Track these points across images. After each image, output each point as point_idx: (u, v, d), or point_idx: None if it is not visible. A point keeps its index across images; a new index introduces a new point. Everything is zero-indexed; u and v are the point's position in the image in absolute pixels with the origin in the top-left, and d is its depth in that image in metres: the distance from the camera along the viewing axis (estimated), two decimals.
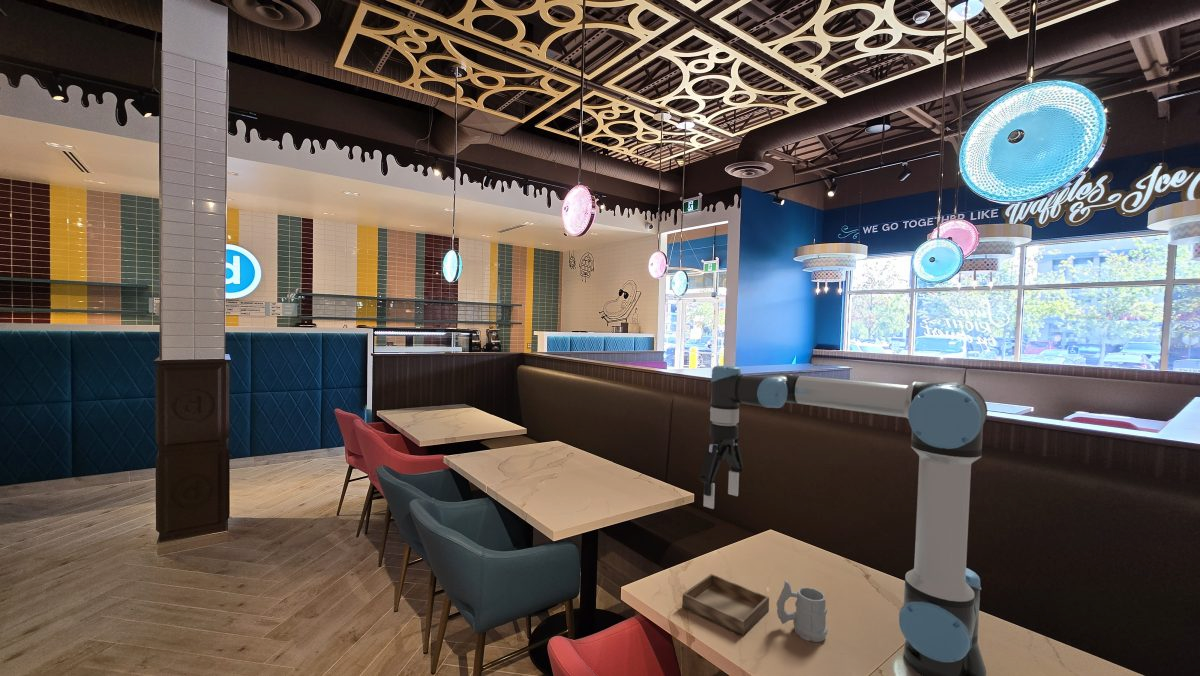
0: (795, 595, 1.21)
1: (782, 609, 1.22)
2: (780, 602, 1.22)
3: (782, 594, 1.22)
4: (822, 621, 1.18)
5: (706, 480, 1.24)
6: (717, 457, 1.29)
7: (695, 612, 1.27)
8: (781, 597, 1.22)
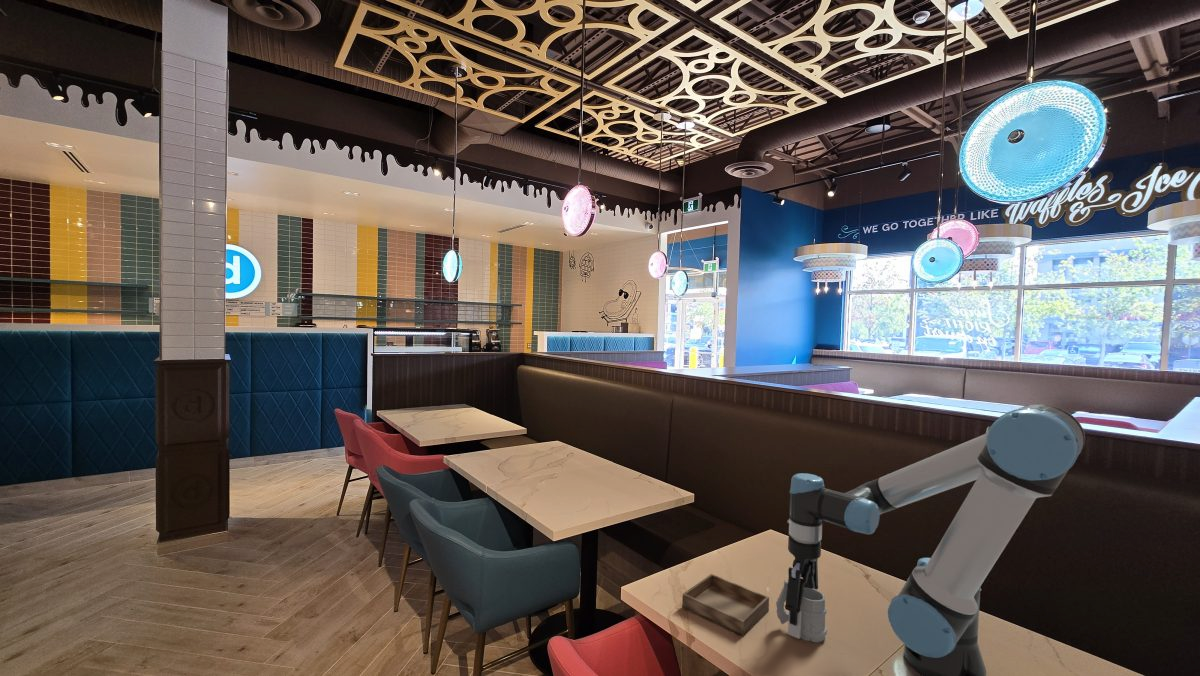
0: None
1: (781, 609, 1.22)
2: (779, 602, 1.22)
3: (781, 594, 1.22)
4: (821, 621, 1.18)
5: (794, 610, 1.15)
6: (800, 580, 1.19)
7: (695, 612, 1.27)
8: (780, 597, 1.22)
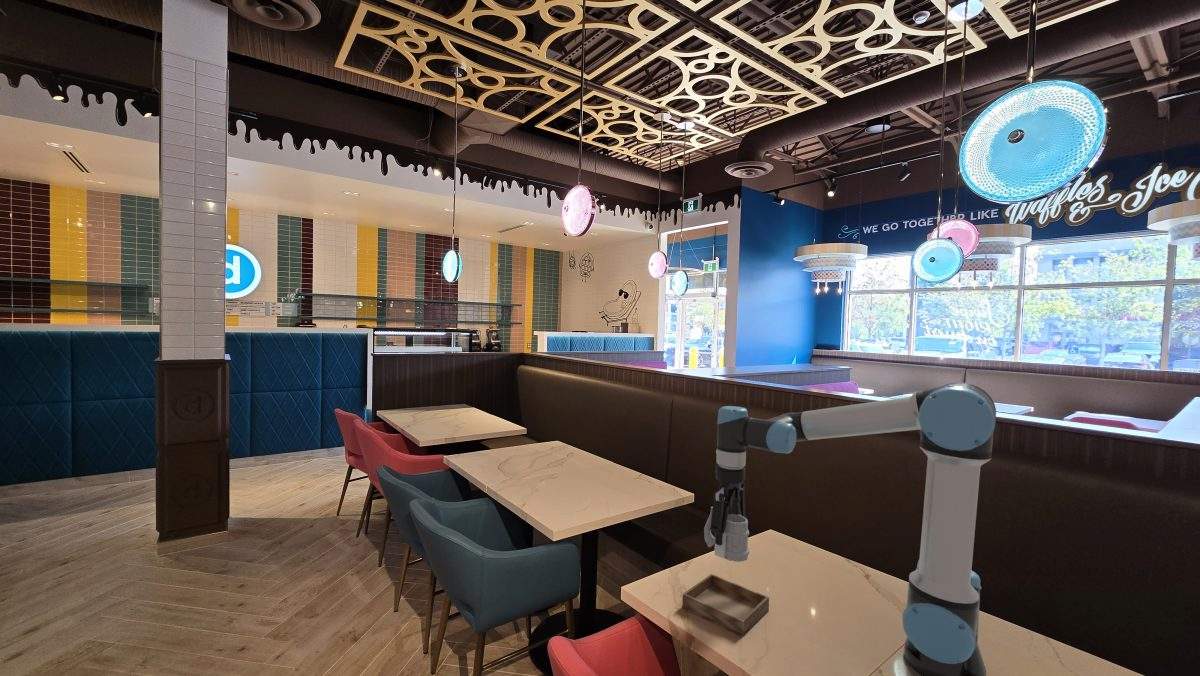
0: None
1: (708, 533, 1.30)
2: (706, 527, 1.30)
3: (708, 519, 1.30)
4: (743, 542, 1.25)
5: (717, 530, 1.23)
6: (725, 504, 1.27)
7: (695, 612, 1.27)
8: (707, 522, 1.30)
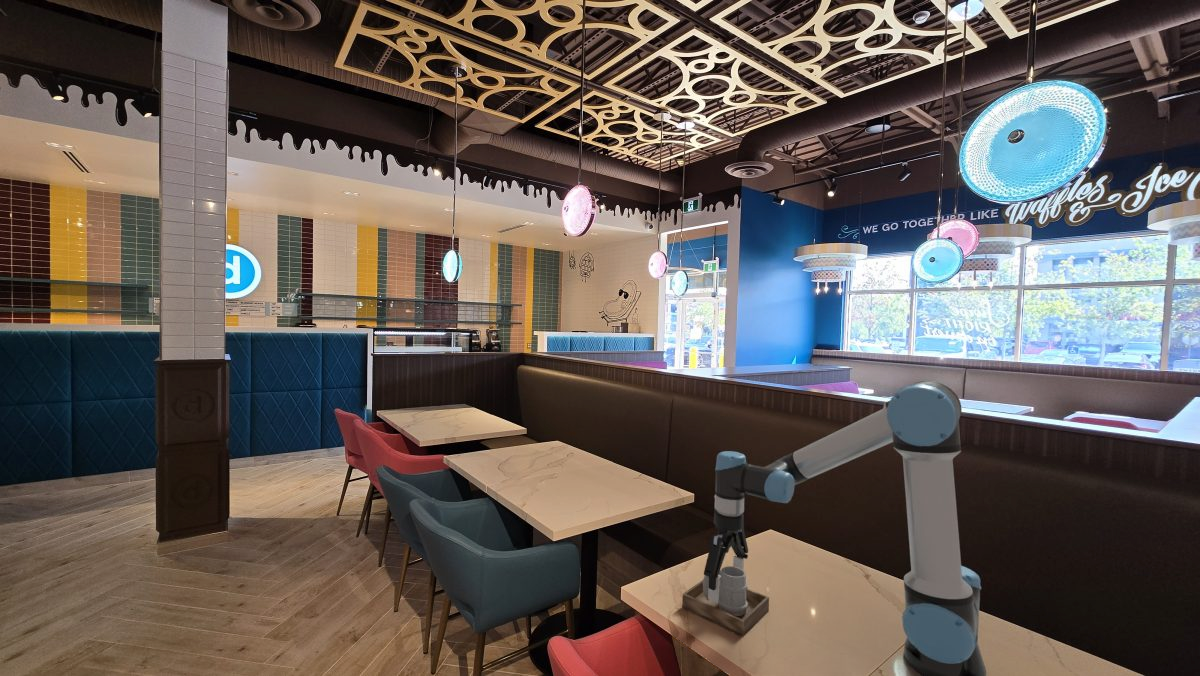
0: None
1: (707, 586, 1.30)
2: (705, 579, 1.31)
3: None
4: (741, 597, 1.26)
5: (711, 575, 1.22)
6: (722, 549, 1.26)
7: (695, 612, 1.27)
8: None
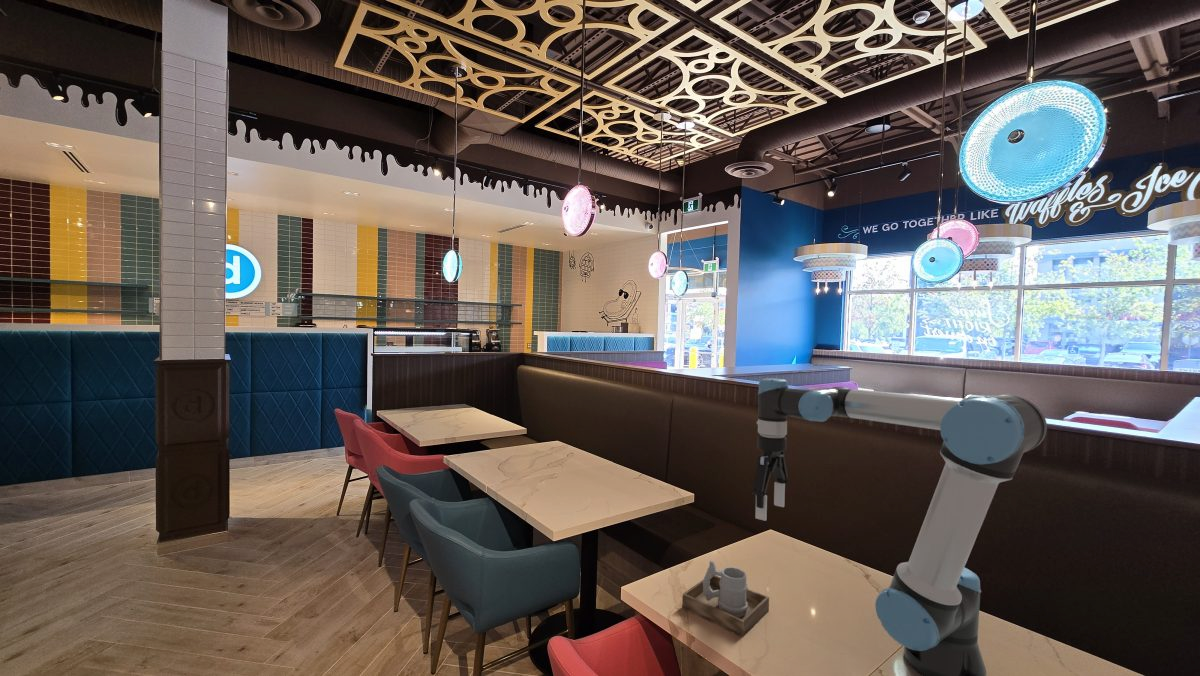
0: (719, 574, 1.29)
1: (707, 587, 1.30)
2: (705, 580, 1.30)
3: (707, 573, 1.30)
4: (742, 598, 1.26)
5: (760, 492, 1.26)
6: (767, 470, 1.31)
7: (695, 612, 1.27)
8: (706, 575, 1.30)
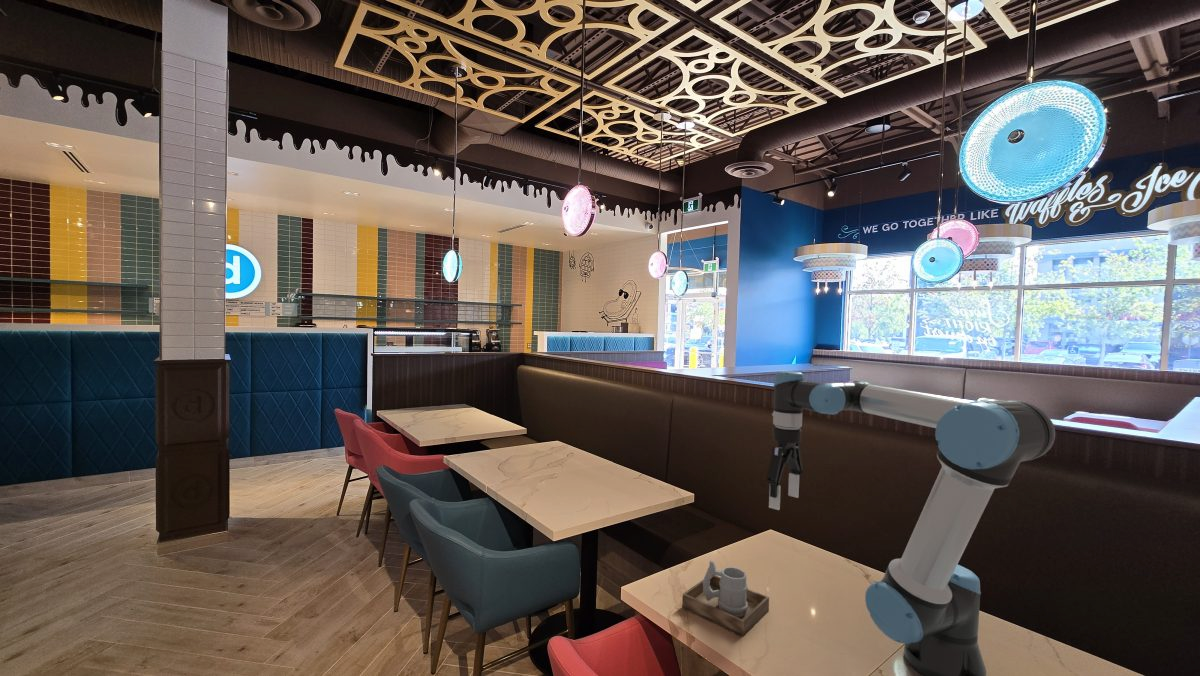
0: (719, 574, 1.29)
1: (707, 587, 1.30)
2: (705, 580, 1.30)
3: (707, 573, 1.30)
4: (742, 598, 1.26)
5: (773, 482, 1.28)
6: (781, 460, 1.33)
7: (695, 612, 1.27)
8: (706, 575, 1.30)
